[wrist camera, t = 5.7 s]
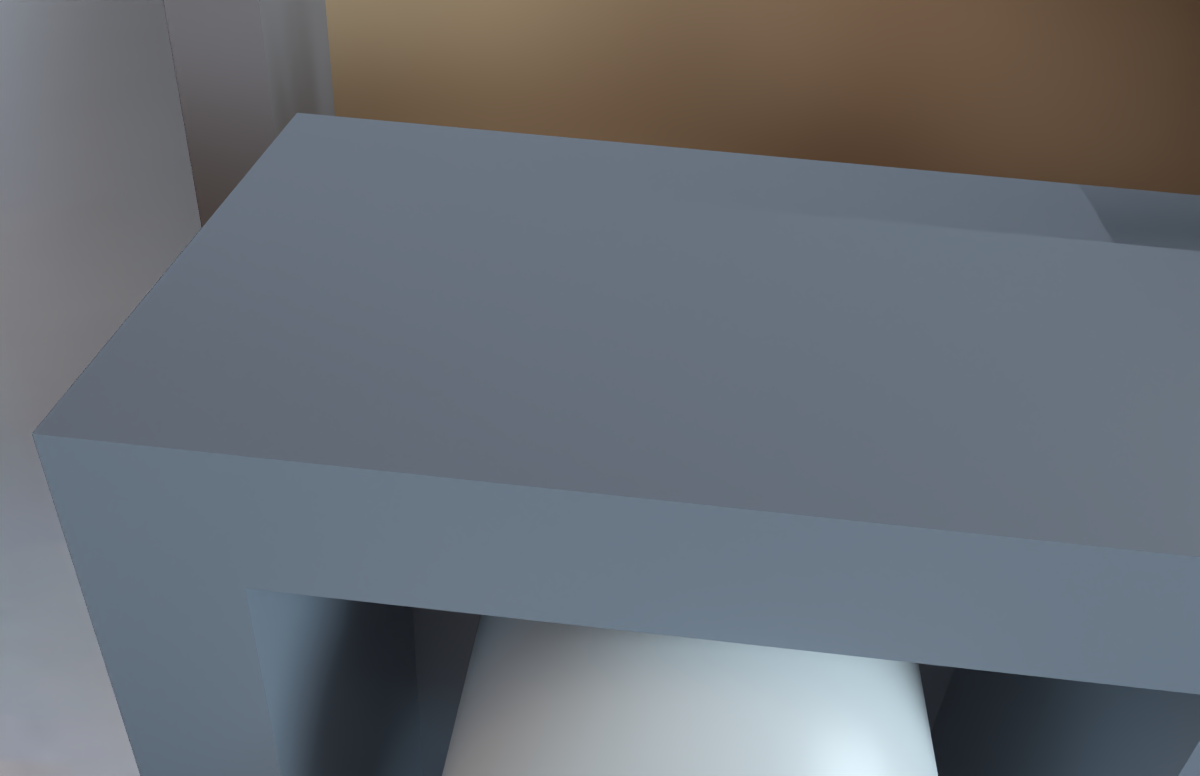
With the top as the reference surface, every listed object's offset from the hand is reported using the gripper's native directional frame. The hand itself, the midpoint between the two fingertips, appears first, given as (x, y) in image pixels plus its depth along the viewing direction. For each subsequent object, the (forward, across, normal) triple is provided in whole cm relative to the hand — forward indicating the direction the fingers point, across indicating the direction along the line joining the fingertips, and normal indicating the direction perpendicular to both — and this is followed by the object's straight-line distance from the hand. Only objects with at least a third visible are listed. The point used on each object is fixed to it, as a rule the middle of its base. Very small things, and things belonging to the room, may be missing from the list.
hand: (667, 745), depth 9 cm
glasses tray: (+1, 0, 0) cm, 1 cm away
